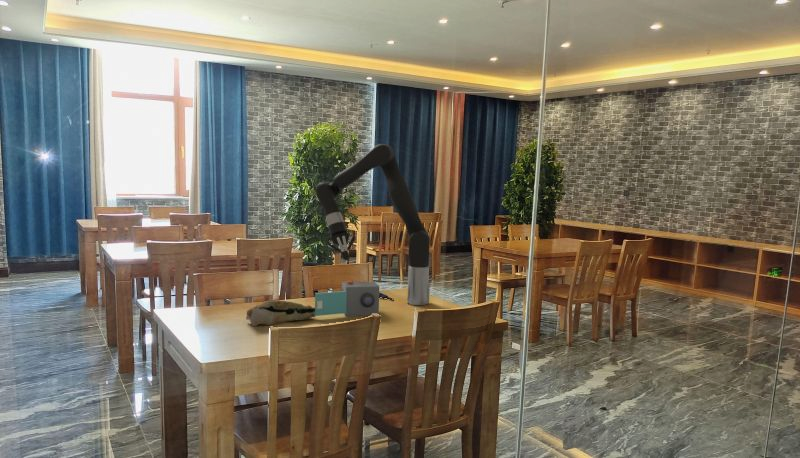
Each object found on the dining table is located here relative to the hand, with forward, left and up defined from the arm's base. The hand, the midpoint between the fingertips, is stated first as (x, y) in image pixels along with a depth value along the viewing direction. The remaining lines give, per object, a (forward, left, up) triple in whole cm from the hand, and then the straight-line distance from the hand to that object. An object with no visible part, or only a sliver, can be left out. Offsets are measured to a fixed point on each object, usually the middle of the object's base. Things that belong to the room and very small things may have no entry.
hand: (346, 260), depth 244 cm
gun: (-12, -10, -20) cm, 25 cm away
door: (+10, +24, -18) cm, 32 cm away
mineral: (+29, +26, -20) cm, 44 cm away
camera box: (-3, +17, -20) cm, 26 cm away
